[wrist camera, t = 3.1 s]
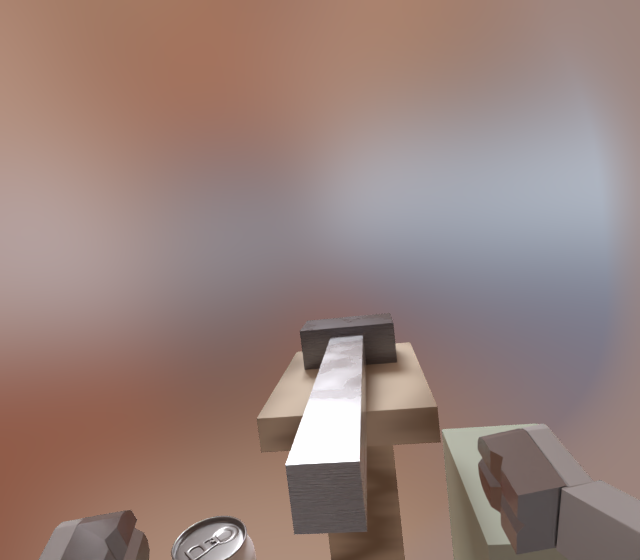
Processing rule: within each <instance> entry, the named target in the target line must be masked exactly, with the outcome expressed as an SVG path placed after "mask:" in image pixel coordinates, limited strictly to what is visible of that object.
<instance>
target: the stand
mask: <svg viewBox="0 0 640 560" xmlns="http://www.w3.org/2000/svg"><path fill="white" fill-rule="evenodd" d="M395 345H396V355H397V362H396V363H384V364H371V365H366V407H367V532H349V533H328V536H329V544H330V552H331V560H405V556H404V548H403V537H402V527H401V518H400V508H399V500H398V499H399V498H398V489H397V480H396V470H395V460H394V450H393V445H401V444H419V443H437V442H441V441H440V430H439V419H438V408H437V405H436V403H435V400H434V398H433V395H432V393H431V391H430V388H429V386H428V384H427V381H426V379H425V377H424V374H423V372H422V370H421V367H420V365H419V363H418V360H417V358H416V355H415V353H414V351H413V348H412V346H411V344H410V342H409V343H397V344H395ZM318 372H319V369H309V370H305V369H304V361H303V353H302V352H297V353H296V354H295V356H294V358H293V360H292V361H291V363H290V364H289V366H288V368H287V369H286V371H285V373H284V374H283V376H282V378H281V379H280V381H279V383H278V384H277V386H276V388H275V389H274V391H273V393H272V394H271V396H270V398H269V399H268V401H267V403H266V404H265V406H264V408H263V409H262V411H261V413H260V414H259V416H258V417H257V424H258V432H259V439H260V447H261V452H278V451H291V448H292V445H293V442H294V439H295V437H296V434H297V431H298V428H299V425H300V422H301V420H302V417H303V414H304V411H305V408H306V406H307V403H308V400H309V397H310V394H311V391H312V389H313V386H314V383H315V380H316V377H317V374H318Z"/></svg>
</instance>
